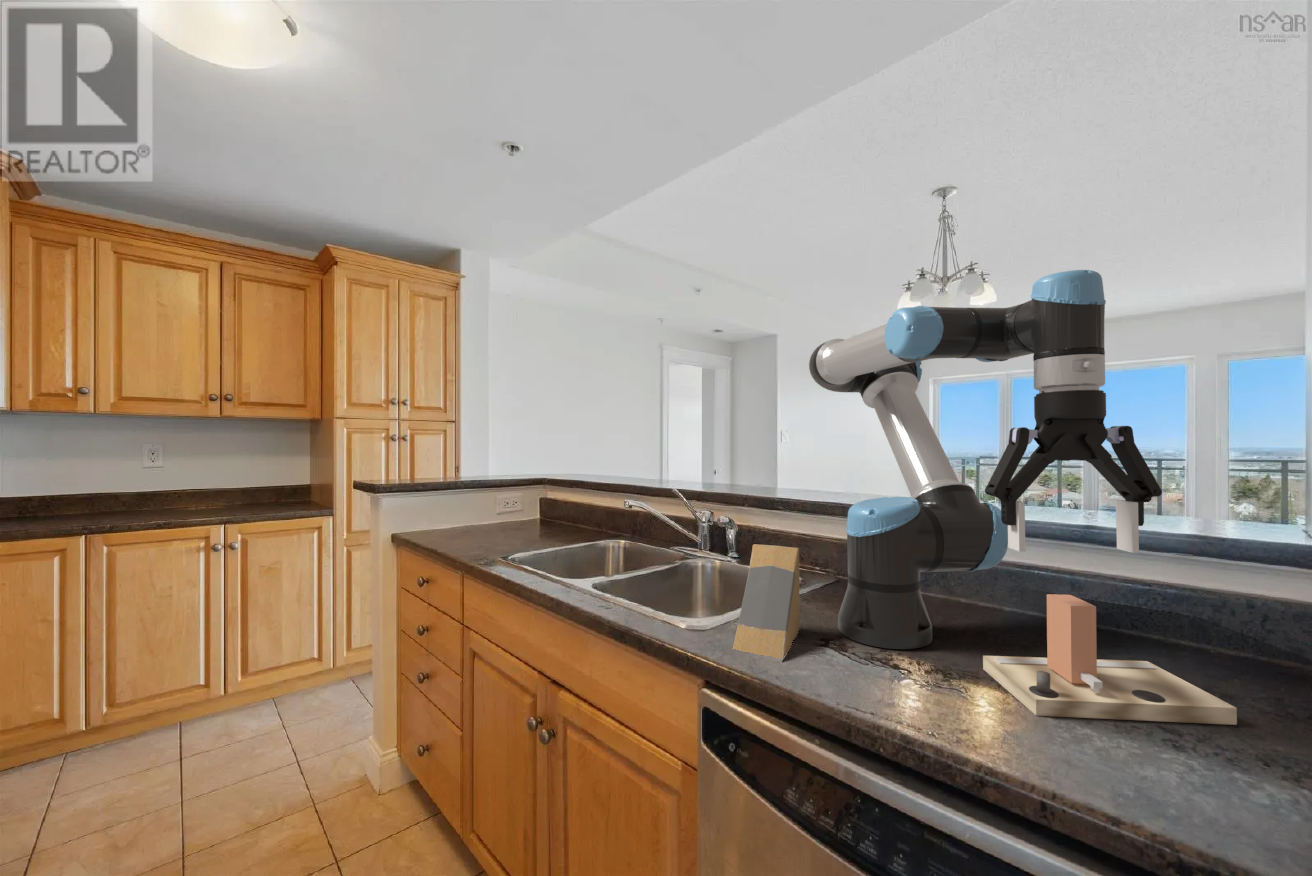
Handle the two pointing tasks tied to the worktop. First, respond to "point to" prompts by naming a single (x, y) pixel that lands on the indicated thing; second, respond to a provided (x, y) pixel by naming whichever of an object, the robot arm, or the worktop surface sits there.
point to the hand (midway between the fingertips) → (1071, 550)
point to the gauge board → (1109, 692)
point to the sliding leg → (1072, 640)
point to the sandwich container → (770, 602)
